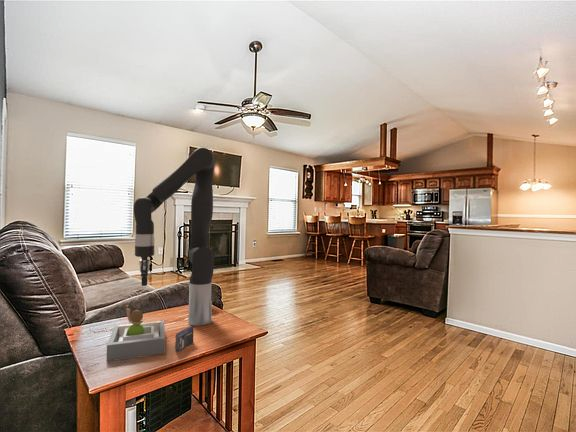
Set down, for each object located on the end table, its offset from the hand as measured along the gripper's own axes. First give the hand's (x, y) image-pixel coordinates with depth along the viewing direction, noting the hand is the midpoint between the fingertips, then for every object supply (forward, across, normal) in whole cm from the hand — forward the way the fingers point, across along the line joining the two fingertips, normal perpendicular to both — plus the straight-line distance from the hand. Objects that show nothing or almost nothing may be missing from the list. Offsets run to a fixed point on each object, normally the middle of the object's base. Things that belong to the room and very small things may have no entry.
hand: (144, 285), depth 131 cm
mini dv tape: (+16, -30, -14) cm, 37 cm away
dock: (+16, -23, +1) cm, 28 cm away
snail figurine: (+15, -21, +3) cm, 25 cm away
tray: (+16, -22, +1) cm, 27 cm away
